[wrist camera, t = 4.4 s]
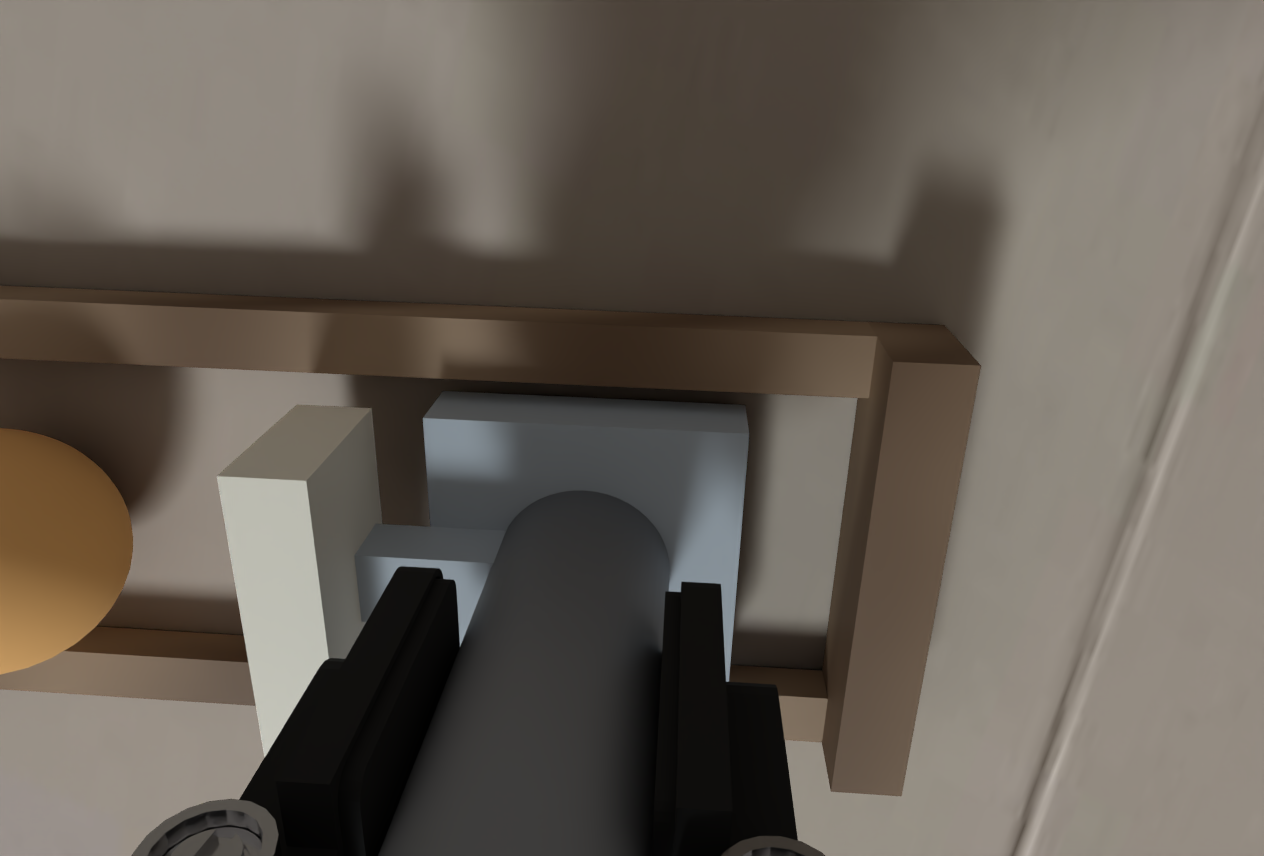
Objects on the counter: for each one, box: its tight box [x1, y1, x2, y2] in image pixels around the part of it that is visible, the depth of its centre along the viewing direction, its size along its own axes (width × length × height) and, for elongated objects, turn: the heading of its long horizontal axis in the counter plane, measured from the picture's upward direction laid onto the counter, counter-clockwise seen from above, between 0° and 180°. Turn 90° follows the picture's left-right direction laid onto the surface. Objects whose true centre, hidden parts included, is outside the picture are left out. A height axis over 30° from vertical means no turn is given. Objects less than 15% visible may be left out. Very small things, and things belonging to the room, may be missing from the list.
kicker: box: [217, 391, 749, 856], centre depth 11 cm, size 7×5×11 cm
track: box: [0, 286, 981, 796], centre depth 15 cm, size 21×8×2 cm, turn 89°
